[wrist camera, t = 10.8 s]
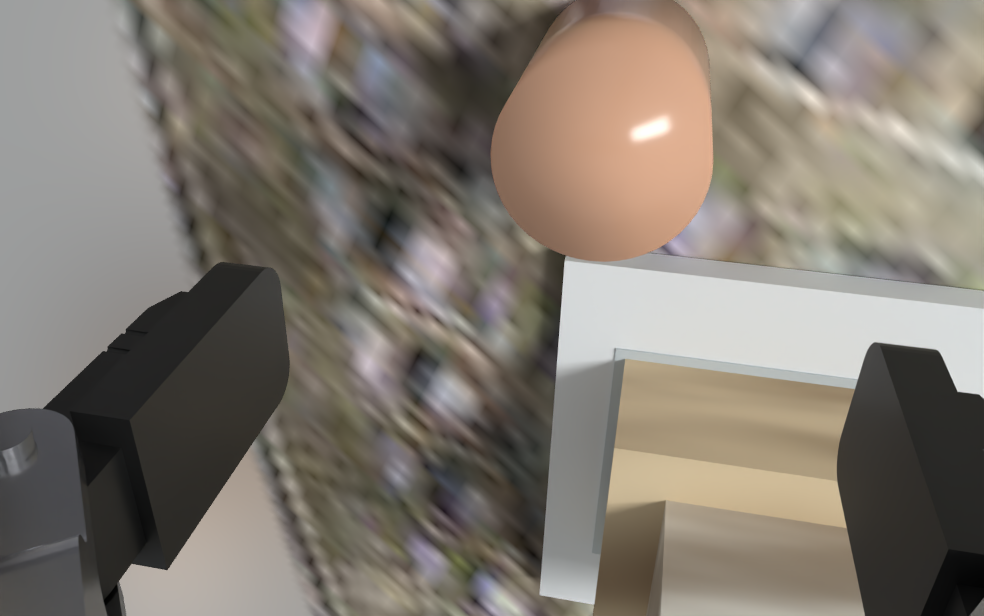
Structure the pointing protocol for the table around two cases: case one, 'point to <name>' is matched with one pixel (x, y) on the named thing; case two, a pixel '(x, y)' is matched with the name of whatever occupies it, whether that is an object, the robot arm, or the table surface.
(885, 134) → the table surface
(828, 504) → the oak base block
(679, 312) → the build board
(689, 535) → the maple cube
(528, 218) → the peach rounded cylinder
